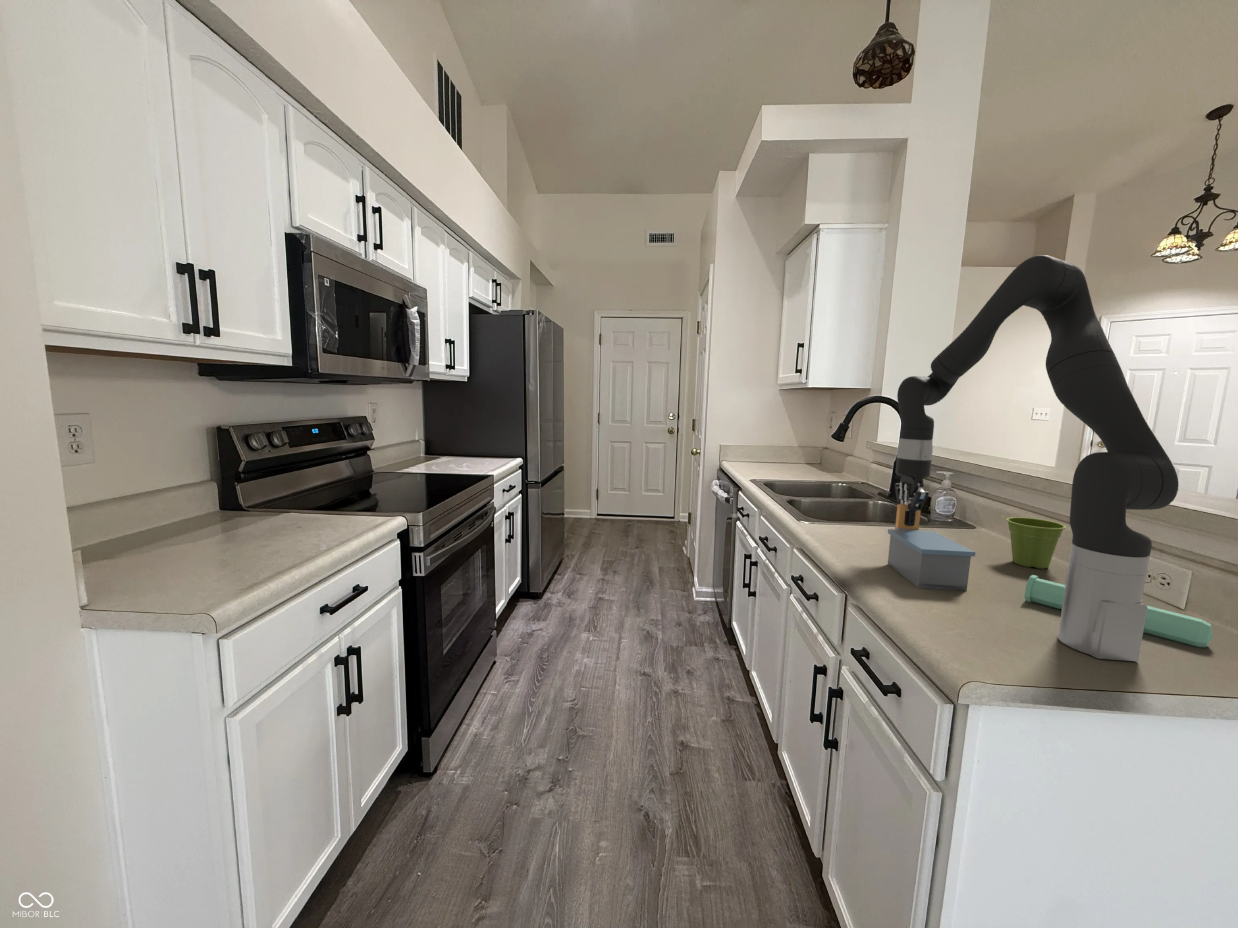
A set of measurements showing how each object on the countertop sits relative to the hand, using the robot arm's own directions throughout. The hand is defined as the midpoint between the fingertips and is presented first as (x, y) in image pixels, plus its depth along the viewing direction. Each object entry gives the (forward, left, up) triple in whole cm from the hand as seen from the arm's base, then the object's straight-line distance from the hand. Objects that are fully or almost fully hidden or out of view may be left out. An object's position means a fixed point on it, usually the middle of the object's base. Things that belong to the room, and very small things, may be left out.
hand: (907, 524), depth 126 cm
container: (-31, -24, -11) cm, 40 cm away
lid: (-9, 0, -3) cm, 10 cm away
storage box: (-11, 0, -10) cm, 15 cm away
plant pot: (+4, -33, -10) cm, 35 cm away
